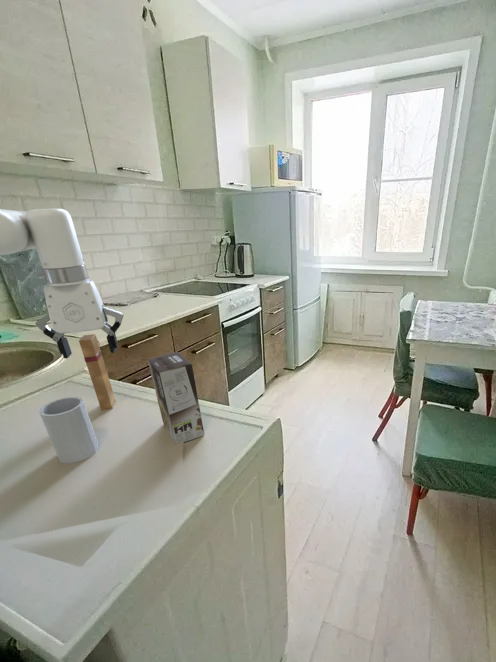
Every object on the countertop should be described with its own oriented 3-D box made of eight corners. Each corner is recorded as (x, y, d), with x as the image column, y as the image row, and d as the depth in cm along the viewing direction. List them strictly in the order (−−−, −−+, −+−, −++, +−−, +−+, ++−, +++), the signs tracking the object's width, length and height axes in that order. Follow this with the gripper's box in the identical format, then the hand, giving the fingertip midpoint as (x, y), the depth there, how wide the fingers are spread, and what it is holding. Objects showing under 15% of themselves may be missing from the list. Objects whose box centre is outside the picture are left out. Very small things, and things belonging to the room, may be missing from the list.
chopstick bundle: (101, 412, 84) (78, 340, 76) (105, 404, 88) (83, 335, 80) (113, 410, 85) (91, 339, 77) (116, 402, 88) (95, 333, 80)
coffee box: (206, 435, 73) (193, 363, 66) (175, 446, 70) (158, 372, 63) (191, 416, 80) (178, 350, 73) (163, 426, 77) (146, 357, 70)
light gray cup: (50, 463, 67) (29, 413, 62) (80, 441, 73) (62, 395, 68) (80, 468, 65) (60, 417, 61) (107, 446, 71) (91, 398, 67)
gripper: (11, 282, 67) (43, 364, 75) (108, 274, 71) (129, 354, 78) (27, 276, 74) (55, 352, 81) (115, 269, 77) (134, 343, 85)
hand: (91, 353), depth 80 cm, fingers open, 9 cm apart
